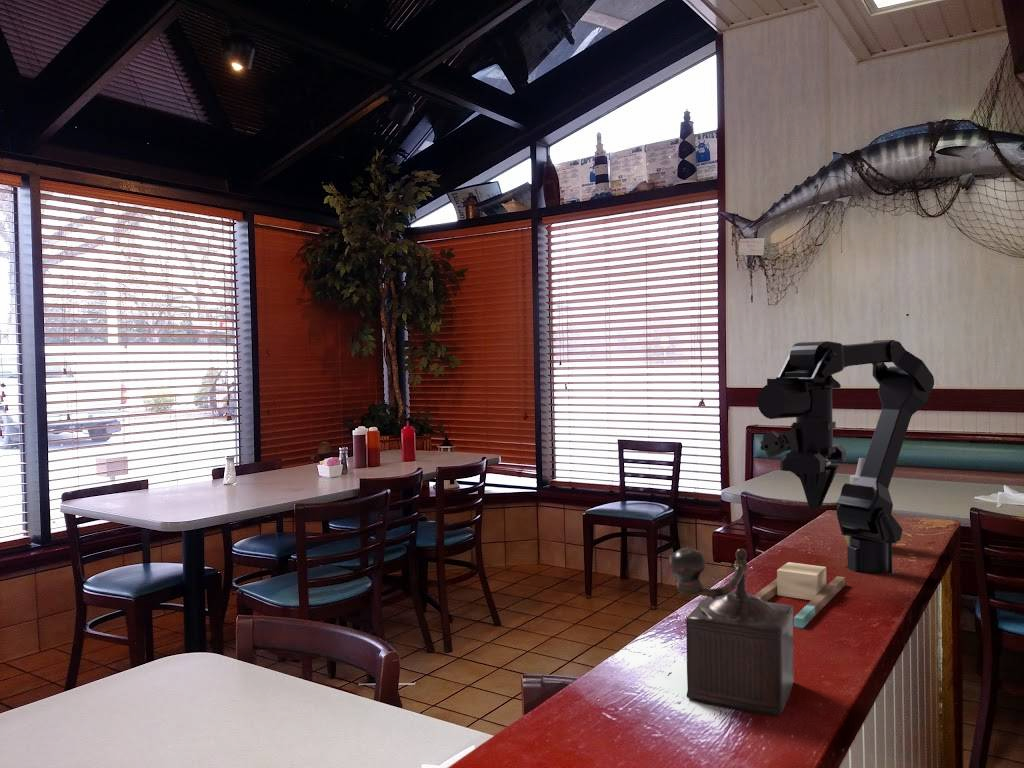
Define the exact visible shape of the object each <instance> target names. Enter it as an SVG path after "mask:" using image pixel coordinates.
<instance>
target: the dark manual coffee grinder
mask: <svg viewBox="0 0 1024 768" xmlns="http://www.w3.org/2000/svg"><path fill="white" fill-rule="evenodd" d="M735 558H736V560H735V561H734V572H733V574H732V576H731V578H730V580H729V582H728V583H726V585H723V586H720V587H717V588H704V586H703V583H702V581H701V579H700V576H701V574H702V573H703V571H704V570H705V568H706V559H705V557H704V555H703V553H702V552H701V551H699V550H696V549H694V548H692V547H682V548H679V549H678V550H676V551H675V552H673V553H671V554H670V555H669V560H668V561H669V564H670V568H671V572H672V573H673V575H675V576H676V578H677V579H678V581H677V583H676V587H677V591H678V592H679V593H682V594H685V595H697V596H698V595H699V596H703V597H705V598H704V599H702V600H700V601H699V602H698V604H697V605H696V607H695V608H694V609H693V610H692V611H691V612H690V613H689V615H688V616H687V617H686V620H685V625H686V681H687V683H686V684H687V692H686V695H685V696H686V698H688V699H691V700H694V701H697V702H699V703H700V702H701V703H704V704H707V705H710V704H711V706H716V707H720V708H725V709H726V708H727V709H730V710H731V709H732V710H735V711H740V712H746V713H750V714H756V715H757V714H758V715H766V716H772V717H779V715H780V714H781V713H782V712H783V711H784V709H785V707H786V705H787V702H788V700H789V698H790V695H791V691H792V688H793V685H794V682H795V680H794V679H795V677H794V607H793V606H794V605H791V604H783V603H778V602H777V603H776V602H772V601H771V602H769V601H767V602H764V601H763V600H761V599H759V598H757V597H755V596H754V595H753V594H750V593H747V590H746V582H745V580H746V579H745V578H746V570H747V569H748V568H749V567H748V561H747V558H748V553H747V551H746V549H744V548H737V550H736V551H735ZM734 589H735V590H734Z"/></svg>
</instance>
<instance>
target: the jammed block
mask: <svg viewBox="0 0 1024 768" xmlns="http://www.w3.org/2000/svg"><path fill="white" fill-rule="evenodd" d="M776 578H777V594H776V595H777V596H780V597H787V598H795V599H801V600H807V601H811V600H813V599H814V598H815V597H816V596H817V595H818V594H819V593H820V592H821V591H822V590H823V589H824V588H825V587H826V586H827V566H822V565H813V564H806V563H798V562H797V563H796V562H791V561H788V562H786V563H785V564H784V565H782V566H780V567H779V568H778V569H777V570H776Z"/></svg>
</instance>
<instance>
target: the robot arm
mask: <svg viewBox="0 0 1024 768" xmlns="http://www.w3.org/2000/svg"><path fill="white" fill-rule="evenodd" d="M791 347H792V348H791V350H790V352H789V354H788V355H787V357H786V360H785V361H784V363H783V366H782V368H780V369H781V370H780V371H779V374H778V375H777V376H772V377H771V376H768V377H767V379H766V385H764V386H763V387H762V388H761V390H760V392H759V394H758V396H757V399H756V400H757V407H758V410H759V412H760V414H761V415H762V416H764V417H765V418H766V419H769V420H776V419H789V418H791V419H793V418H795V421H794V422H792V423H791V424H790V431H788V432H785V433H782V434H778V433H777V432H776V431H775V430H773V431H772V430H771V431H770V432H767V433H763V435H762V440H761V441H759V442H760V444H761V445H760V450H761V451H764V453H765V455H766V458H767V459H769V458H774V457H775V456H778V455H782V454H783V453H785V452H787V453H785V454H783V456H782V457H781V458H780V459H779V461H780V462H779V463H780V465H779V466H780V467H779V468H780V469H779V470H780V471H783V472H790V473H792V474H794V475H795V476H796V478H797V477H798V479H799V480H800V482H801V485H802V488H803V491H804V495H805V496H804V497H805V499H806V501H807V502H806V503H807V506H808V509H809V510H811V511H816V510H818V508H821V507H822V505H823V503H824V500H825V498H826V497H827V494H828V491H829V490H830V487H831V484H832V483H833V482H834V481H833V480H834V479H835V476H836V474H837V472H838V470H839V469H840V465H839V464H831V461H839V462H838V463H844V462H845V461H847V449H846V448H845V447H843V445H842V444H835V443H833V441H834V439H833V435H834V433H833V430H834V429H836V428H837V427H836V425H837V424H836V421H833V390H834V389H841V384H840V382H839V381H838V380H836V379H835V378H834V377H833V375H835V374H837V373H841V372H842V371H843V370H844V369H845V368H847V367H851V366H861V365H869V364H870V365H872V377H873V378H874V380H875V381H876V382H877V383H878V385H879V387H878V391H877V394H878V397H879V399H880V402H881V406H882V407H881V411H880V414H879V416H878V417H879V418H878V420H877V423H876V427H875V428H874V432H873V434H872V438H871V442H870V443H869V448H868V450H867V453H866V456H865V462H864V465H863V468H862V471H861V474H860V477H859V479H858V480H857V481H855V482H854V483H853V484H850V482H849V483H848V482H846V483H845V482H844V484H843V485H842V487H841V492H840V495H839V498H838V500H837V501H836V505H837V506H836V517H837V521H838V525H839V528H840V532H841V535H842V536H844V537H845V536H846V535H847V536H851V537H850V545H849V546H848V545H847V565H844V568H845V569H849V570H851V571H853V572H855V573H868V574H892V575H899V571H895V570H893V544H897V542H900V541H901V538H902V534H903V528H902V526H901V525H900V524H899V522H898V521H897V520H896V518H895V517H894V516H893V515H892V514H893V513H892V512H893V507H894V504H893V500H892V497H891V494H890V489H889V488H890V484H891V481H892V477H893V474H894V472H895V469H896V466H897V463H898V459H899V456H900V453H901V449H902V447H903V443H904V441H905V438H906V434H907V431H908V427H909V425H910V422H911V418H912V417H913V416H914V414H915V413H916V412H918V411H919V410H920V409H921V408H922V407H924V405H926V403H927V402H928V399H929V397H930V395H931V393H932V391H933V389H934V386H935V377H934V375H933V373H932V372H931V371H930V369H929V368H928V367H927V365H926V363H925V362H924V361H923V360H922V359H921V358H919V357H917V356H916V355H914V354H913V353H911V352H909V351H908V350H906V348H905V347H904V346H903V344H902V342H899V341H898V340H895V339H885V340H884V339H883V340H881V339H880V340H873V341H871V342H862V343H861V342H860V343H850V344H843V343H841V342H835V341H829V340H827V341H805V342H804V341H803V342H801V341H800V342H796V343H794V344H792V346H791ZM886 363H892V364H894V365H893V366H891V365H890V366H889V367H888V366H887V364H886ZM788 451H790V452H788Z"/></svg>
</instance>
